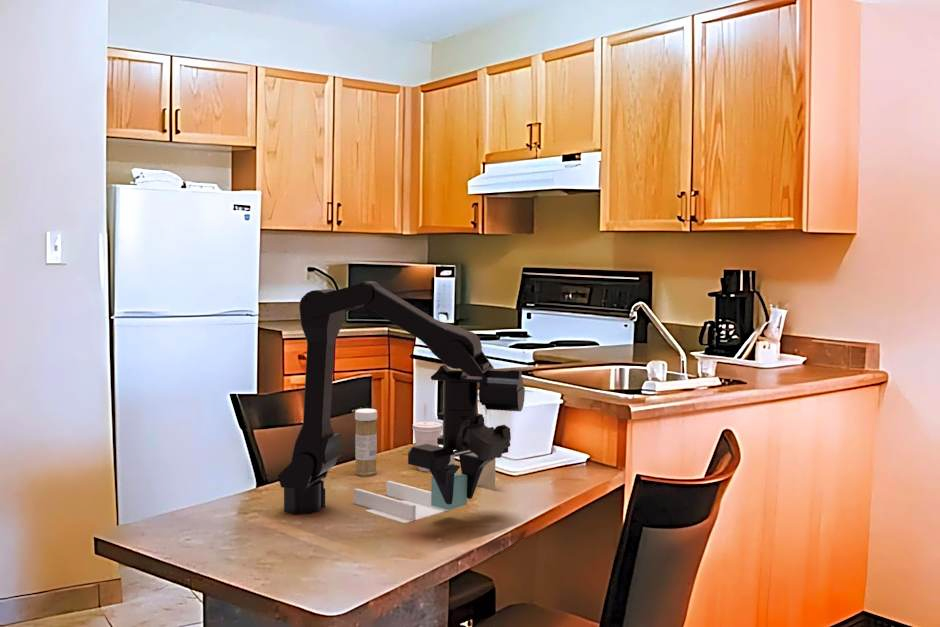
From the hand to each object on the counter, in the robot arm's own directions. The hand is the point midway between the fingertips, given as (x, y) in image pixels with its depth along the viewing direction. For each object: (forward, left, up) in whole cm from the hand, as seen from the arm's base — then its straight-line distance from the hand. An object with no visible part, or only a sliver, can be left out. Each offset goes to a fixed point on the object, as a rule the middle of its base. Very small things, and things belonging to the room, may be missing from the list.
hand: (459, 501), depth 151 cm
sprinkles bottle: (+15, +41, -6) cm, 44 cm away
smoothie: (+27, +35, -6) cm, 44 cm away
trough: (0, +14, -5) cm, 15 cm away
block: (0, +4, +1) cm, 4 cm away
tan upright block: (+23, +16, -6) cm, 28 cm away
